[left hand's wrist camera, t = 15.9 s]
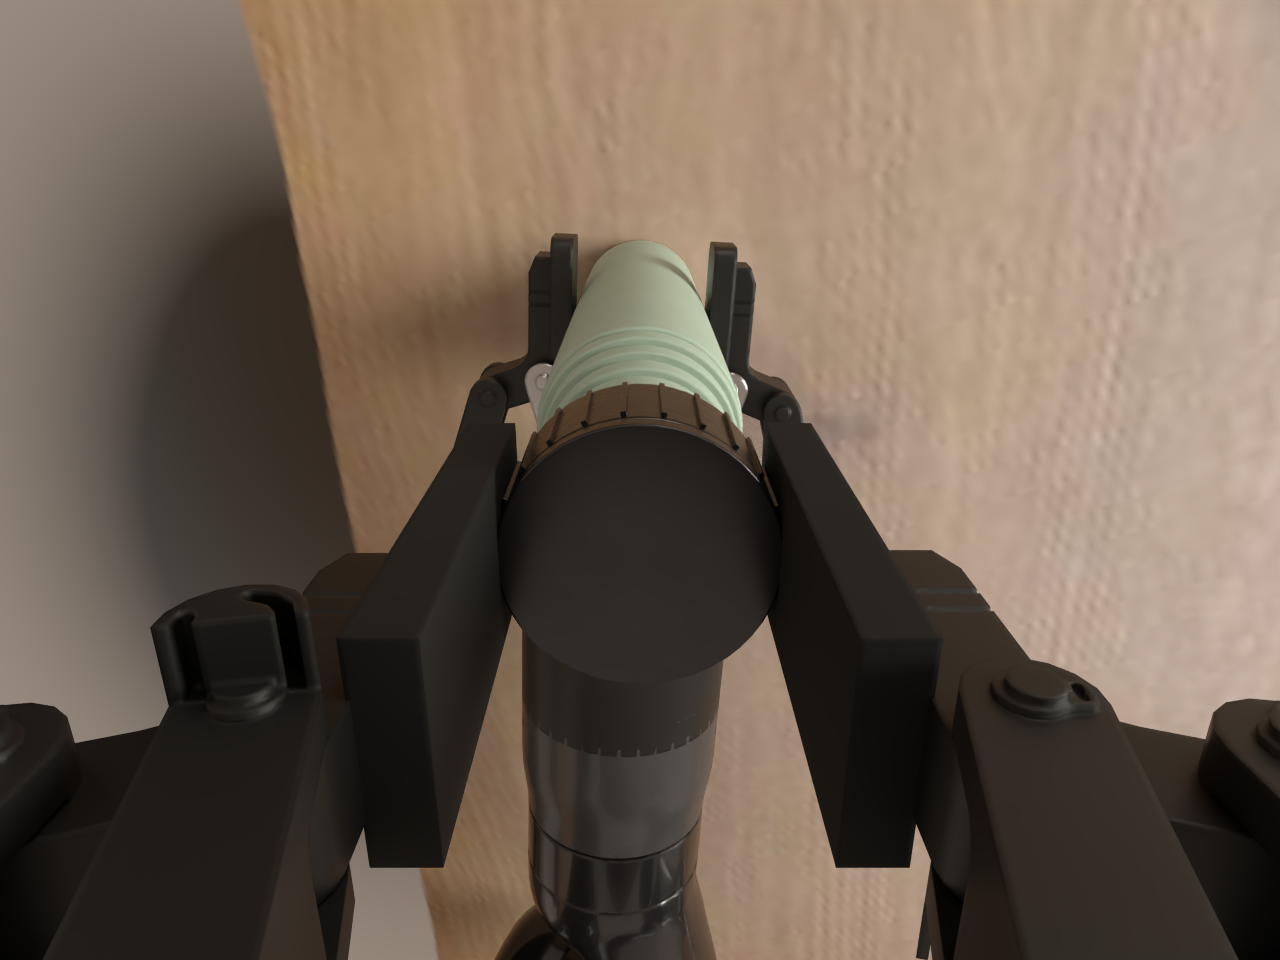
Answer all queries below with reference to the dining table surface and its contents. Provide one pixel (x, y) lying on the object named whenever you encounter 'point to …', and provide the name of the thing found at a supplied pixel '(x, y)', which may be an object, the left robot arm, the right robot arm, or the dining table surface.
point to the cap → (639, 536)
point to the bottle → (639, 333)
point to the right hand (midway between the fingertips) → (643, 242)
